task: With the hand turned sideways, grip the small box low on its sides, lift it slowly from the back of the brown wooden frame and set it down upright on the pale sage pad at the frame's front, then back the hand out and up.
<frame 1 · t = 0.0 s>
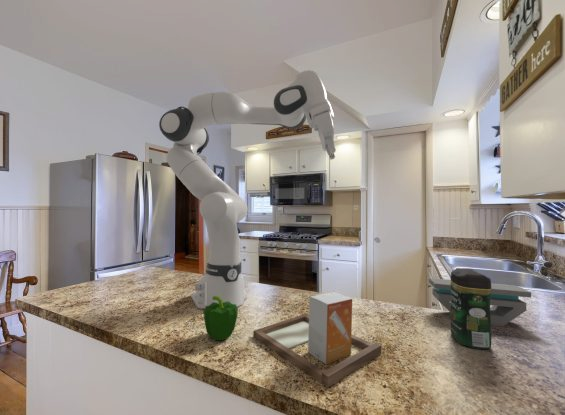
hand: (333, 155, 87), 52 cm above the worktop, tool tilted 20°, fingers open, 8 cm apart
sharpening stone: (475, 319, 83), on the worktop
small box: (329, 354, 60), resting in brown wooden frame
coffee jar: (469, 342, 67), on the worktop
bell pepper: (220, 336, 67), on the worktop
brown wooden frame: (313, 344, 64), on the worktop
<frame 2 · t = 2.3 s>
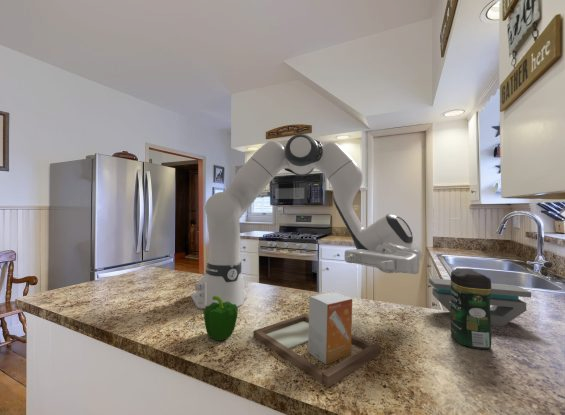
hand: (363, 262, 69), 20 cm above the worktop, tool horizontal, fingers open, 8 cm apart
nothing on the worktop moved.
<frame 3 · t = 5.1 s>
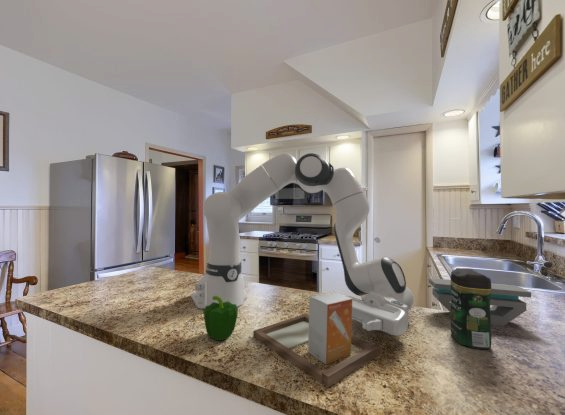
hand: (348, 320, 65), 6 cm above the worktop, tool horizontal, fingers open, 8 cm apart
nothing on the worktop moved.
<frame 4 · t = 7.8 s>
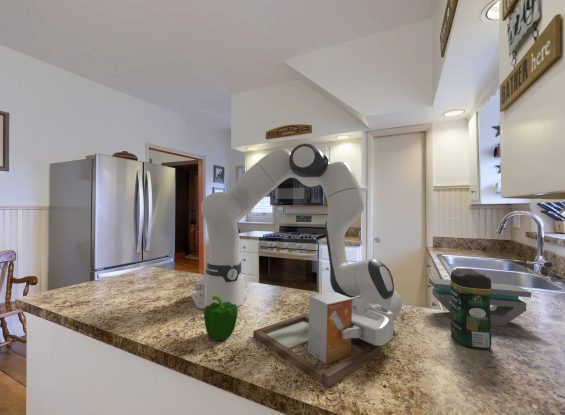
hand: (327, 328, 59), 6 cm above the worktop, tool horizontal, fingers closed on small box, 6 cm apart
small box: (329, 354, 60), resting in brown wooden frame, touching gripper
everything else where it was.
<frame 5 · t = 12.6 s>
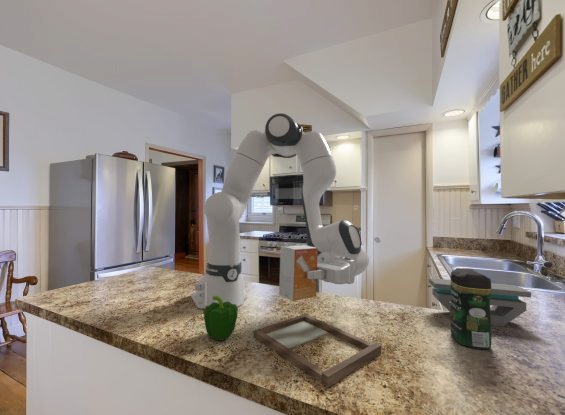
hand: (295, 272, 68), 17 cm above the worktop, tool horizontal, fingers closed on small box, 6 cm apart
small box: (297, 296, 68), point 10 cm above the worktop, touching gripper
everything else where it was.
when the fingers open (8 cm above the worktop, at t = 15.8 s): small box drops 1 cm, resting on brown wooden frame.
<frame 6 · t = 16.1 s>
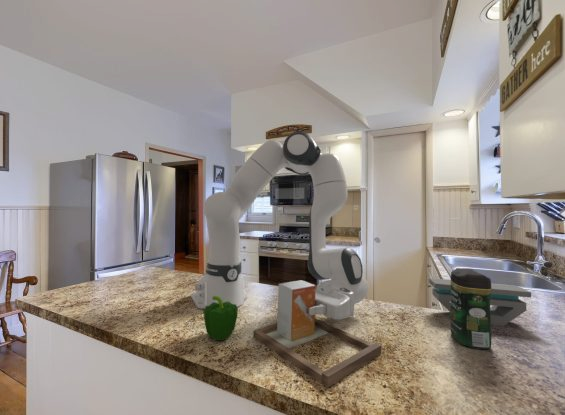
hand: (295, 305, 68), 8 cm above the worktop, tool horizontal, fingers open, 8 cm apart
small box: (295, 334, 69), resting on brown wooden frame
everything else where it was.
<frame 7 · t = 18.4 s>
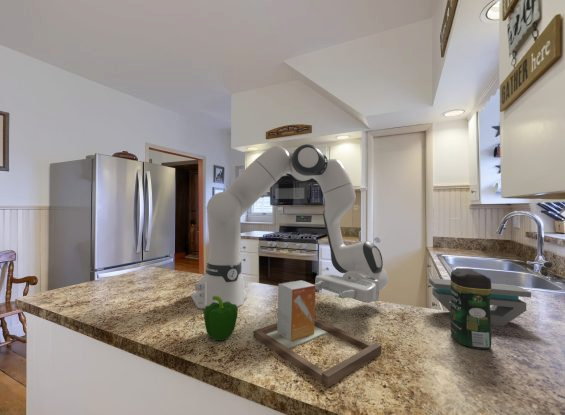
hand: (327, 290, 77), 9 cm above the worktop, tool horizontal, fingers open, 8 cm apart
nothing on the worktop moved.
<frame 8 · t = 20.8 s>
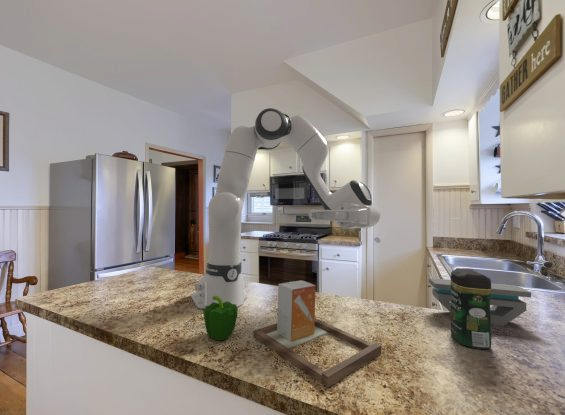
hand: (321, 215, 81), 32 cm above the worktop, tool horizontal, fingers open, 8 cm apart
nothing on the worktop moved.
at the end: small box inside the target area (0.8 cm from its centre), resting on brown wooden frame; small box tilted 0°; the gripper is holding nothing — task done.
